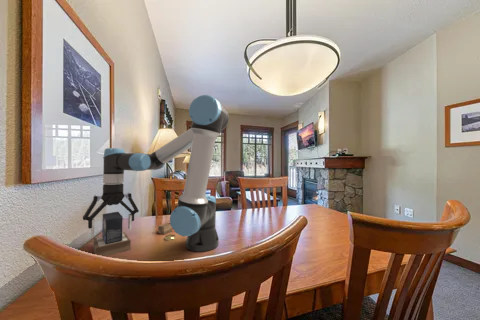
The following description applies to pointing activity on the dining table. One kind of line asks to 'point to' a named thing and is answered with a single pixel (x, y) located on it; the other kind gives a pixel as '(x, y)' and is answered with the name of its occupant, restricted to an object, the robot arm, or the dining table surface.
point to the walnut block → (164, 228)
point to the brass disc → (170, 237)
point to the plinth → (111, 246)
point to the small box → (112, 227)
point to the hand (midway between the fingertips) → (112, 232)
